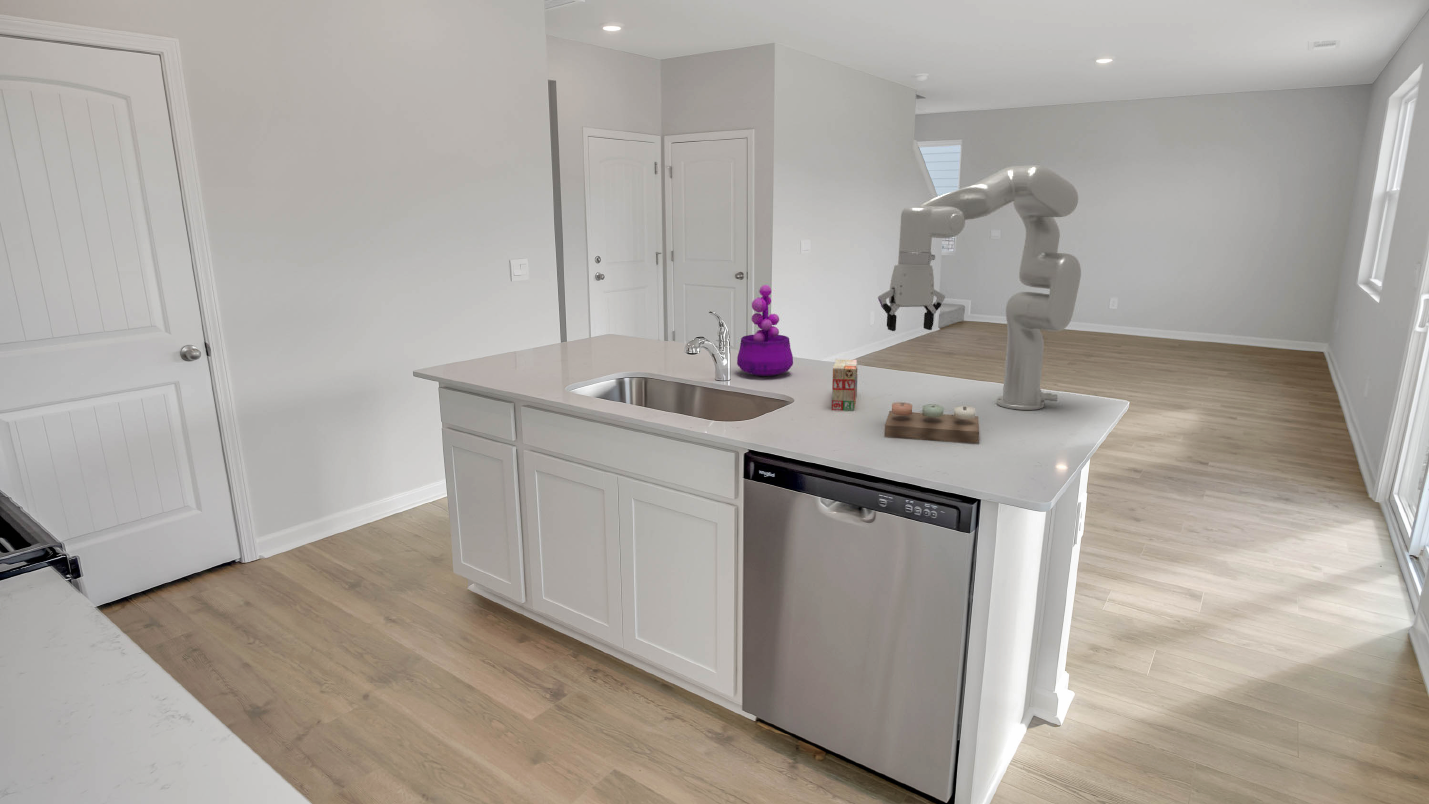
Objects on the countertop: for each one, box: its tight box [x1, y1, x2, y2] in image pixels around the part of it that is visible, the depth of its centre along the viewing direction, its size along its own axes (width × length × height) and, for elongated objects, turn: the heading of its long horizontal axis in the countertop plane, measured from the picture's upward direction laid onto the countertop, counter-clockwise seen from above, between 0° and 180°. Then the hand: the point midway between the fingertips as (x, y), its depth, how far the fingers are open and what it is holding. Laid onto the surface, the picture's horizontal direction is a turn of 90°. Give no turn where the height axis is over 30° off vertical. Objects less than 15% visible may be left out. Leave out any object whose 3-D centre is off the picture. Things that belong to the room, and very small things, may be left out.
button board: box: [883, 410, 980, 444], centre depth 195 cm, size 22×14×3 cm, turn 73°
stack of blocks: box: [831, 358, 859, 412], centre depth 225 cm, size 21×6×12 cm, turn 168°
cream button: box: [953, 405, 976, 419], centre depth 191 cm, size 5×5×2 cm
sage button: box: [921, 403, 945, 417], centre depth 193 cm, size 5×5×2 cm
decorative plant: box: [736, 284, 794, 377], centre depth 259 cm, size 19×18×30 cm
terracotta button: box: [891, 401, 913, 415], centre depth 196 cm, size 5×5×2 cm
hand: (909, 329), depth 193 cm, fingers open, 9 cm apart
